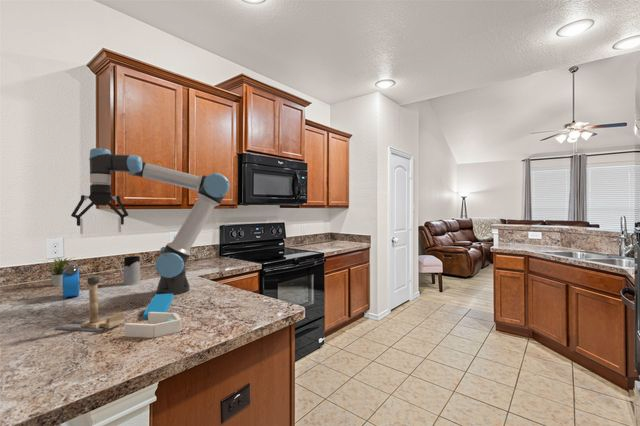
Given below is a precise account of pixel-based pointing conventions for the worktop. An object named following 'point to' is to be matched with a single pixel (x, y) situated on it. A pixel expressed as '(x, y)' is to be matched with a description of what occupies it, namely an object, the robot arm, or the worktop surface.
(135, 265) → the glass holder
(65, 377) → the worktop surface
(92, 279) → the plunger
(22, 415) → the worktop surface
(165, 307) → the blue long block
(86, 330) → the track
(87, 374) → the worktop surface
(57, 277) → the house plant
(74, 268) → the alarm clock
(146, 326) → the pocket
